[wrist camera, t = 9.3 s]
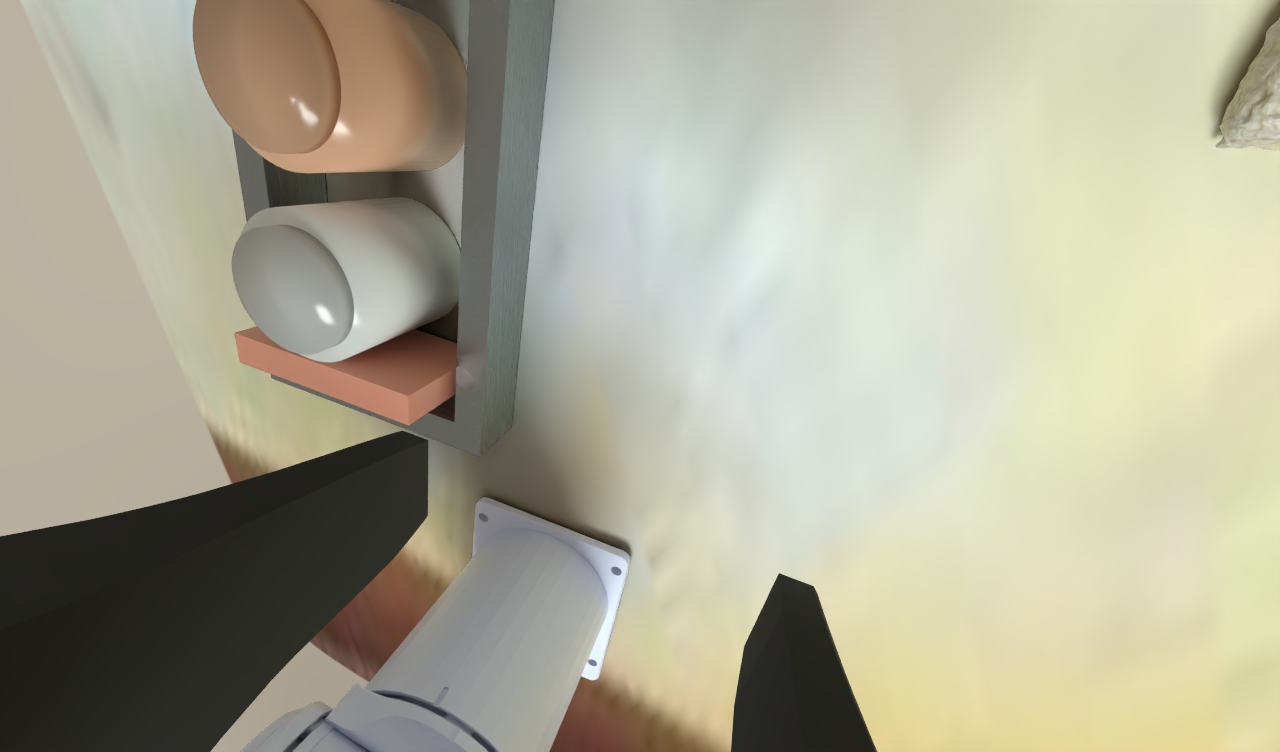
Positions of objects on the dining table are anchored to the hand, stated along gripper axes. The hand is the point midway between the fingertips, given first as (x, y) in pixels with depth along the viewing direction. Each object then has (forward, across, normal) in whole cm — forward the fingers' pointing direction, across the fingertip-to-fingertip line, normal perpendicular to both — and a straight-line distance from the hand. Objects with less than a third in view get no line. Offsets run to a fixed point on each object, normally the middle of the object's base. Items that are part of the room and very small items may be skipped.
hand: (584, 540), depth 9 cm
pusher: (+10, +12, +3) cm, 16 cm away
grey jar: (+10, +12, 0) cm, 16 cm away
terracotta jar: (+10, +12, -7) cm, 17 cm away
